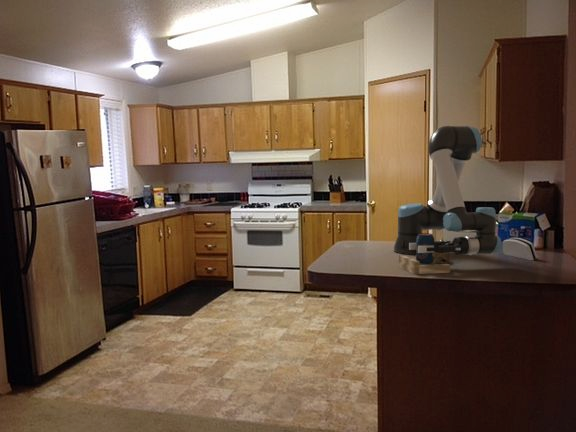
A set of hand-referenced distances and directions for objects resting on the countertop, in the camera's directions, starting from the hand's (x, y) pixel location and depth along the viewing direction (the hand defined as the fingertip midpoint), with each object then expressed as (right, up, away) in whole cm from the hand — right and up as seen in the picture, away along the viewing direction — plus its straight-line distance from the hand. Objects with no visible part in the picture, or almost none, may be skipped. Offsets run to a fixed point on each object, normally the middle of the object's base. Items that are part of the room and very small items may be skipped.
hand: (414, 247), depth 202 cm
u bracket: (+5, -9, +2) cm, 10 cm away
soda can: (+5, -7, +2) cm, 8 cm away
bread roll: (+15, -8, +20) cm, 26 cm away
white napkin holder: (+56, -6, +30) cm, 64 cm away
